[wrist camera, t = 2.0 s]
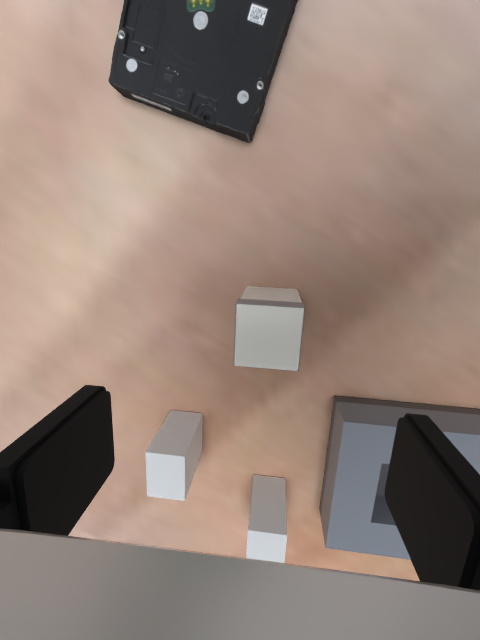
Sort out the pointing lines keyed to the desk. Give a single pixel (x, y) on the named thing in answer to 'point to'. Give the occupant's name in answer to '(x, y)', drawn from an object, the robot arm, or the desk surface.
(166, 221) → the desk surface
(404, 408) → the holder
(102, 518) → the desk surface
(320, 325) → the desk surface
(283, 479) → the pale grey post pair
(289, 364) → the block
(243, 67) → the disk drive
